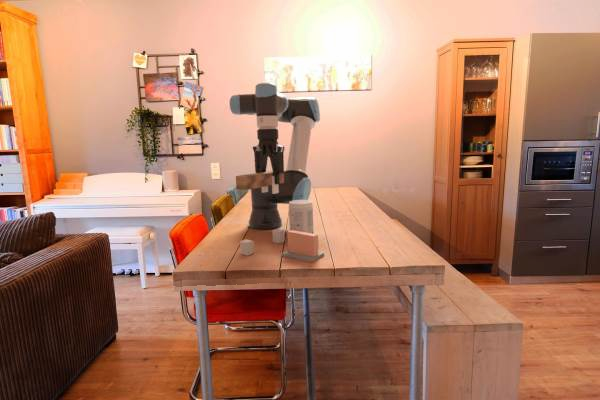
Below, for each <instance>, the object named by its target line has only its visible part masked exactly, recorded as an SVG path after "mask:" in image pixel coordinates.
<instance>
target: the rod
mask: <svg viewBox="0 0 600 400" xmlns="http://www.w3.org/2000/svg"><path fill="white" fill-rule="evenodd" d="M272 175H273V170H269V171H267V170H266V172H260V173H256V172H254V173H247V174H240V175H236V176H235V187H236V188H235V189H236V190H242V191H248V190H251V189H254V188H260V187H265V186H270V185H272ZM279 179H280V183H279V184H281V183H284V173H283V174H280V176H279Z"/></svg>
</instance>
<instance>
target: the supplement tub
mask: <svg viewBox="0 0 600 400" xmlns="http://www.w3.org/2000/svg"><path fill="white" fill-rule="evenodd" d="M313 207H314V206H313V200H310V199H308V200H293V201H290V202H289V204H288V220H289V221H288V223H289V231H291V230H295V231H300V232H306V233H312V234H315V233H314V209H313Z"/></svg>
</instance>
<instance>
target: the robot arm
mask: <svg viewBox="0 0 600 400" xmlns="http://www.w3.org/2000/svg"><path fill="white" fill-rule="evenodd" d="M277 88H278V87H277V85H276V84H275V83H273V82H262V83H261V82H260V83H257V84H256V85H255V89H254V90H255V93H250V94H249V93H247V94H245V93H243V94H240V93H239V94H235V95H234V94H233V95H232V96H231V97H230V99H229V109H230V111H231V113H232V114H233V115H238V116H240V115H246V116H247V115H248V116H256V127H257V128H258V129H257V130H256V134H257V135H256V136H257V140H258V144H257V145H255V146H252V150H253V152H254V169H255V171H254V173H260V172H267V165H268V158H269V160H270V165H271V171H273V175H272V185H270V186H265V187H260V188H254V189H250V195H251V198H250V199H251V212H250V216H249V217H250V218H249V220H248V227H249V228H250V229H254V230H271V229H278V228H279V227H282V225H283V223H282V222H283V220H282V218H281V215H280V212H279V209H278V204H280V205H281V204H282V205H287V204H288V205H289V202H290V201H293V200H309V198H310V195H311V191H312V188H311V187H312V181H311V179H310V178H309V175H308V173H306V170H307V169H306V168H307V161H308V155H309V147H310V140H311V132H312V129H313V128H314V127H315V126H316V123H318V122H320V120H321V114H320V106H319V101H318V100H317V98H316V97H312V96H311V97H309V96H307V97H294V98H291V97H290V98H287V96H286V95H285V94H283V93H281V92H278V89H277ZM279 123H285V124H287V123H288V124H290V125H291V126H292V132H291V133H292V134H291V139H290V145H289V152H288V159H287V164H286V169H285V161H284V157H285V156H284V152H285V146H284V145H280V144H279V142H278V139H279V129H278V127H279ZM283 173H284V183H281V184H279V183H280V179H279V176H280V174H283Z"/></svg>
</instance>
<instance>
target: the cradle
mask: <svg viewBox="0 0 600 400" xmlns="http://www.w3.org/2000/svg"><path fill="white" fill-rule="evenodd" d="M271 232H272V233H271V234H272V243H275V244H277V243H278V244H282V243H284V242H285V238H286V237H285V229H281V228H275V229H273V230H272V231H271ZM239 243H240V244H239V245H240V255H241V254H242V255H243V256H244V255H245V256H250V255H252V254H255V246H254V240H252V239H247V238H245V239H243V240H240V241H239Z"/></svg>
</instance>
